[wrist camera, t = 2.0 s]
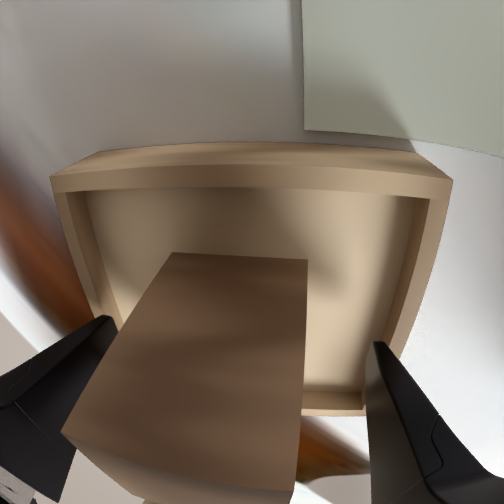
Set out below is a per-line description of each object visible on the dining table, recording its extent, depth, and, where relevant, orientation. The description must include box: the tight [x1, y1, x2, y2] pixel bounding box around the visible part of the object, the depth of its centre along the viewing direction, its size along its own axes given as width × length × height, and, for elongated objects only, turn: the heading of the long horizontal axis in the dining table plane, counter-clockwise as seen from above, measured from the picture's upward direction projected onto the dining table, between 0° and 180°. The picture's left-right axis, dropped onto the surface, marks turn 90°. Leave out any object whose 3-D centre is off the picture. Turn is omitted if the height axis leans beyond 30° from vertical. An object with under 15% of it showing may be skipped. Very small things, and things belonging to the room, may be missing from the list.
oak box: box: [50, 142, 453, 416], centre depth 12 cm, size 12×11×3 cm
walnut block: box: [60, 252, 308, 504], centre depth 8 cm, size 4×4×7 cm
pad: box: [301, 0, 504, 158], centre depth 7 cm, size 8×8×1 cm
